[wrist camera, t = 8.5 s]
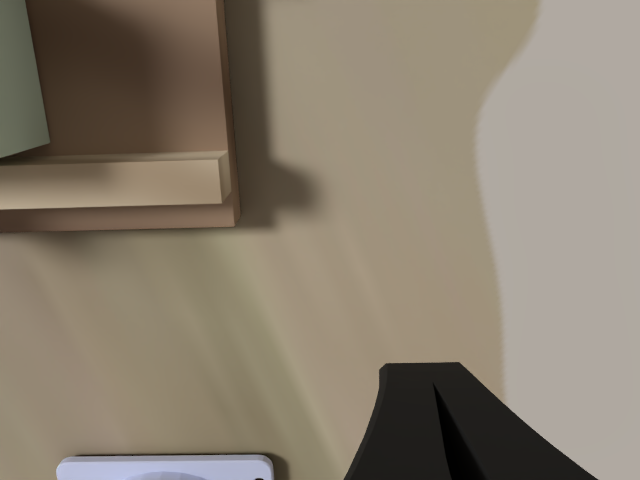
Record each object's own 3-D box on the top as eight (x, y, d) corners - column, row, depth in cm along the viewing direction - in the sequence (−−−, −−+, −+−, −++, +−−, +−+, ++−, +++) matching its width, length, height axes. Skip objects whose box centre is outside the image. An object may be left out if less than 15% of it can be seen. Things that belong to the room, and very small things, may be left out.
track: (240, 215, 18) (205, 274, 14) (-76, 224, 19) (-223, 284, 14) (212, -143, 15) (153, -236, 10) (-165, -124, 16) (-394, -205, 11)
